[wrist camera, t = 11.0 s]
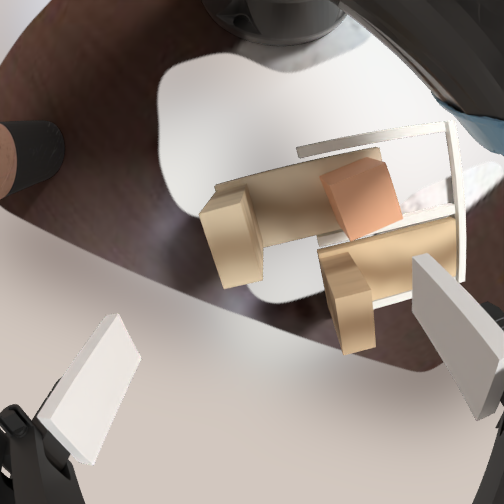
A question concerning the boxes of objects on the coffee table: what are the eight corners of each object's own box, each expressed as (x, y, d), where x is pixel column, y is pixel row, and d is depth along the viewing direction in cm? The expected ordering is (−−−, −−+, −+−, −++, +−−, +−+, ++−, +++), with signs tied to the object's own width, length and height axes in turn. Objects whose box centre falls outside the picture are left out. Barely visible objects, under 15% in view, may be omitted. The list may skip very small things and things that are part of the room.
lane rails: (295, 147, 29) (297, 148, 28) (450, 120, 26) (455, 120, 26) (331, 314, 35) (333, 319, 35) (461, 277, 33) (464, 281, 32)
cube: (319, 176, 28) (329, 185, 24) (366, 156, 27) (385, 162, 23) (338, 223, 30) (350, 241, 25) (383, 204, 29) (403, 218, 24)
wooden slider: (216, 184, 30) (196, 207, 22) (375, 146, 28) (416, 156, 19) (236, 250, 33) (226, 294, 24) (386, 213, 30) (426, 246, 22)
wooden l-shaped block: (316, 249, 32) (333, 293, 24) (450, 216, 30) (497, 246, 22) (327, 306, 35) (343, 359, 26) (451, 271, 33) (491, 310, 24)
